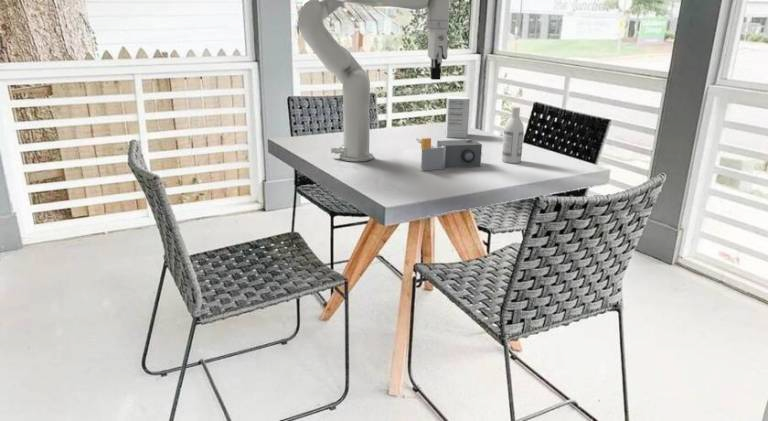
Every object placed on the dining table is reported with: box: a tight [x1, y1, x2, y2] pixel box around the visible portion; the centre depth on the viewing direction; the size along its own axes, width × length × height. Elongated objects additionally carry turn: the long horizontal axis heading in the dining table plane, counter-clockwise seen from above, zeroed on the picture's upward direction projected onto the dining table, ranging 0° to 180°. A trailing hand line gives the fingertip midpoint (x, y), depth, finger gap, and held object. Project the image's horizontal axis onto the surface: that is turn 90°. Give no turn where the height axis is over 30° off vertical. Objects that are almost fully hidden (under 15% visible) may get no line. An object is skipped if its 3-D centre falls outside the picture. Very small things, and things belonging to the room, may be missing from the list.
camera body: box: [436, 138, 483, 169], centre depth 211 cm, size 14×10×9 cm
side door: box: [420, 137, 446, 172], centre depth 204 cm, size 1×9×11 cm, turn 115°
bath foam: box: [501, 106, 524, 164], centre depth 215 cm, size 7×7×20 cm
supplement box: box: [444, 95, 471, 139], centre depth 258 cm, size 10×9×17 cm
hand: (435, 79), depth 212 cm, fingers closed
